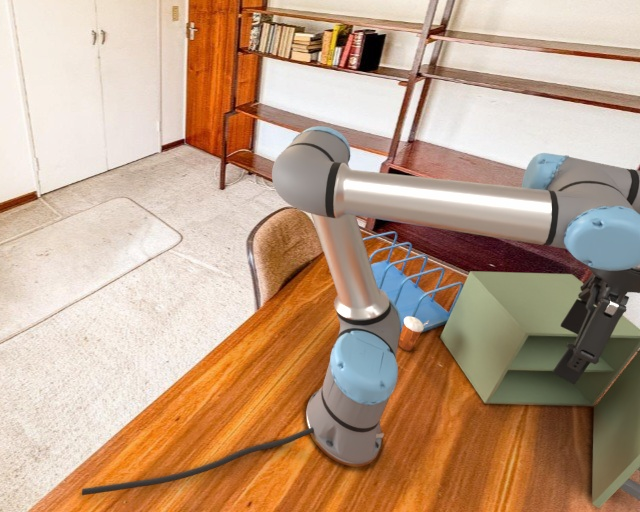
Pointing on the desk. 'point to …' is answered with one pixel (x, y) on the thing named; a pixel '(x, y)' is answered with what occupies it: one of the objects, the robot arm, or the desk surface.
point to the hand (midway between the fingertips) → (566, 352)
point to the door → (617, 436)
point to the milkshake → (410, 332)
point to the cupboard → (528, 340)
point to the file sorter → (410, 289)
